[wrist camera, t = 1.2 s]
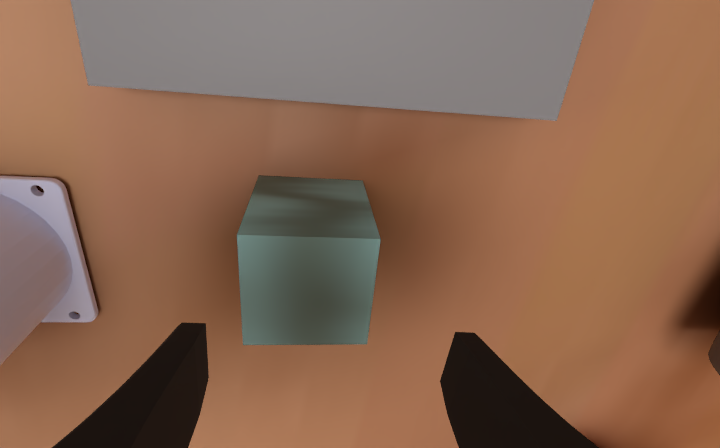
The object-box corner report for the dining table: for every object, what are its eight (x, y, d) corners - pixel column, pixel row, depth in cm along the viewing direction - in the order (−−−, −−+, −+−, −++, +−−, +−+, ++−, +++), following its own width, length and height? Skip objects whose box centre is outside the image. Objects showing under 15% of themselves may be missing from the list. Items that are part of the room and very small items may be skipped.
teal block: (261, 263, 21) (242, 345, 16) (259, 175, 19) (236, 234, 13) (354, 265, 22) (366, 344, 16) (362, 180, 19) (380, 239, 14)
